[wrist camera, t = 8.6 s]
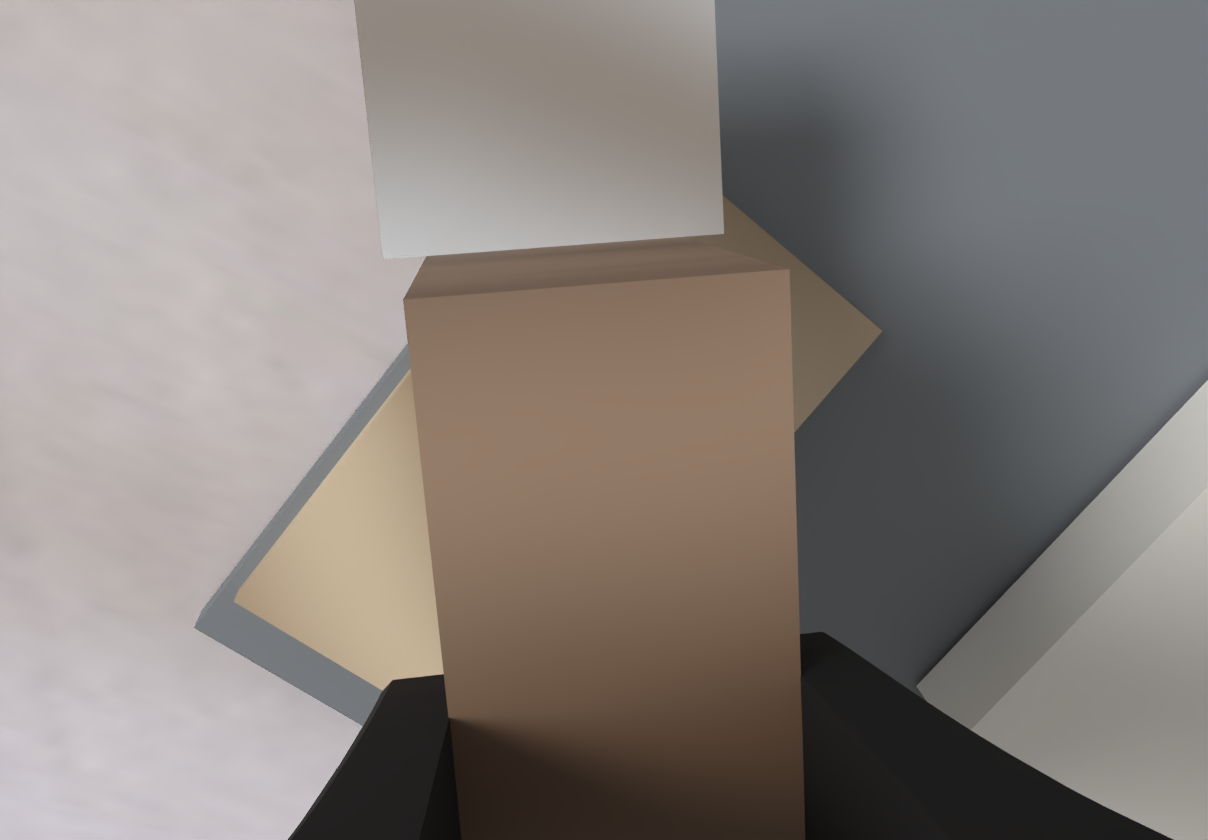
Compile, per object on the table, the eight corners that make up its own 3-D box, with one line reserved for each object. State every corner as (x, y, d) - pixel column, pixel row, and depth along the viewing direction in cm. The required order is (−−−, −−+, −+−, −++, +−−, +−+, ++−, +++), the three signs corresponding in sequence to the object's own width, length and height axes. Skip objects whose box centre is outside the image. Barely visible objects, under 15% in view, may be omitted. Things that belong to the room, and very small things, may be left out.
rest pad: (614, 104, 17) (618, 106, 16) (874, 325, 18) (882, 330, 18) (237, 590, 18) (233, 601, 18) (505, 751, 20) (505, 764, 20)
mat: (1204, -690, 15) (1234, -719, 14) (1781, 126, 20) (1820, 128, 19) (202, 610, 19) (194, 627, 18) (884, 1012, 24) (894, 1035, 23)
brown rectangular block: (742, 873, 16) (864, 1191, 11) (458, 912, 15) (452, 1260, 10) (704, -28, 13) (846, -150, 8) (356, -11, 12) (284, -128, 8)
